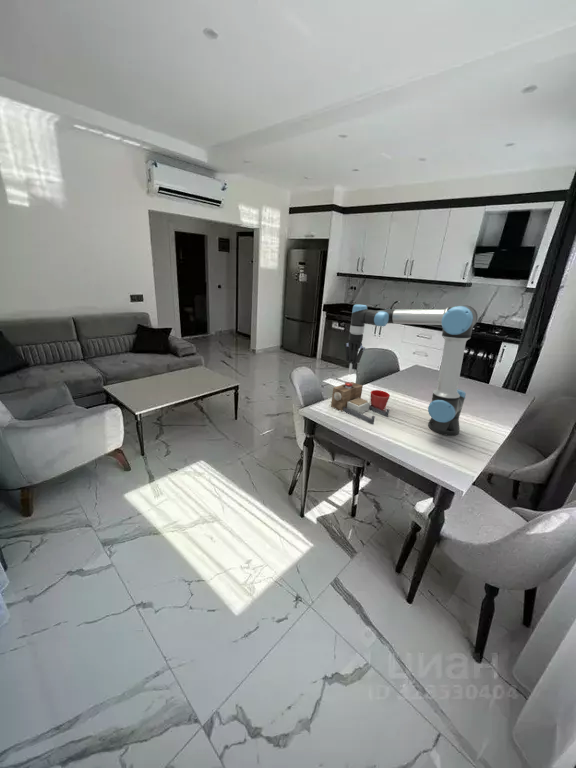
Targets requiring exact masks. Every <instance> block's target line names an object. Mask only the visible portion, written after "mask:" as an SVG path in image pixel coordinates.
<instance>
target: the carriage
mask: <svg viewBox="0 0 576 768" xmlns="http://www.w3.org/2000/svg"><path fill="white" fill-rule="evenodd" d="M370 405H371V401H368V400H366V399H363V398H362V397H361V398H357V399H354V400H351V401H349V402H347V408H349V409H351V410H354V411H356V412H358V413H360V414H363V413H365V412H368V411H370V410H369V406H370Z"/></svg>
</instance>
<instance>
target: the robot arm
mask: <svg viewBox="0 0 576 768" xmlns="http://www.w3.org/2000/svg"><path fill="white" fill-rule="evenodd" d="M351 311H352V312H351V319H350V327H349V335H348V341H347V343H344V348H345V350H344V351H345V360H346V361H347V362H348V375H350V376H351V375H353V374H354V372H355V369H356V365H357V364H360V362H361V359H362V356H363V353H364V351H366V347H364V346H363V340H364V339H363V338H364V330H365V325H371V326H376V327H386V325H388V324H389V325H390V324H393V325H394V324H395V325H399V324H400V325H427V326H428V325H430V326H431V325H432V326H441V328H442V333H441V336H442V338H443V339H444V343H443V349H442V350H443V351H442V356H441V363H440V369H439V373H438V374H439V375H438V380H437V388H436V389H434V390H433V391H432V397H431V402H430V403H429V404H428V406H427V411H428V415H429V416H430V419H428V420H429V421H428V423H427V427H428V428H429V429H430V430H431V431H432V432H435V433H437V434H440V435H443V436H449V437H451V436H458V435H459V432H460V416H461V412H462V409H463V406H464V402H465V399H466V391H464V390H462V389H459V382H460V377H461V370H462V366H463V365H462V364H463V361H464V360H463V359H464V354H465V351H466V350H465V349H466V344H467V341H468V340H470V339H471V338H472V337H471V336H472V332H473V327H474V326H475V325H476V324H477V322H478V319H479V318H478V316H479V315H478V312H477V311H476V309H475V308H474V307H472V306H471V305H455V306H452V307H451V306H450V307H449V306H448V307H446V308H445V309H444V308H443V309H441V308H439V309H438V308H437V309H431V308H430V309H425V308H423V309H417V308H415V309H390V308H386V309H380V310H374V309H368V306H367V305H366V304H356V303H355V304H354V305H353V306H352V310H351Z"/></svg>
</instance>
